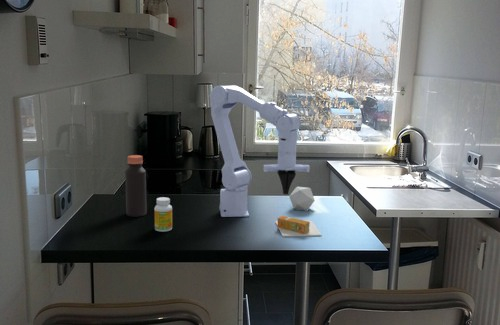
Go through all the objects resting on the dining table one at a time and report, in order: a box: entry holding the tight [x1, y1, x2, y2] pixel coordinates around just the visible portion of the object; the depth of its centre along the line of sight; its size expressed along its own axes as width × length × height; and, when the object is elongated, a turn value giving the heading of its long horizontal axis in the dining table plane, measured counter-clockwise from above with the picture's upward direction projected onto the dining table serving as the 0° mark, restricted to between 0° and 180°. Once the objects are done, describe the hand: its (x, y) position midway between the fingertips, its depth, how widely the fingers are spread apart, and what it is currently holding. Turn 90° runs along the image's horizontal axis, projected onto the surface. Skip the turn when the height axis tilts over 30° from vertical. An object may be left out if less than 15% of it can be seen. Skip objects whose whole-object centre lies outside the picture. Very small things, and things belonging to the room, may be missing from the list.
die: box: [288, 186, 315, 212], centre depth 178 cm, size 8×9×10 cm
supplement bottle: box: [153, 196, 173, 233], centre depth 153 cm, size 5×5×10 cm
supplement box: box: [277, 215, 310, 234], centre depth 154 cm, size 3×3×10 cm
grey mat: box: [275, 219, 323, 238], centre depth 157 cm, size 12×14×1 cm
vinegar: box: [124, 154, 148, 218], centre depth 167 cm, size 7×7×20 cm
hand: (285, 193), depth 159 cm, fingers closed
